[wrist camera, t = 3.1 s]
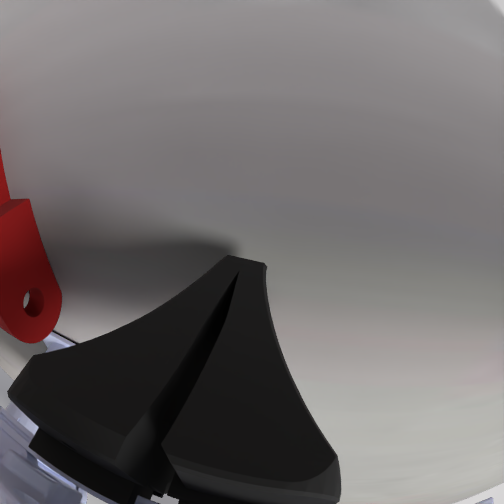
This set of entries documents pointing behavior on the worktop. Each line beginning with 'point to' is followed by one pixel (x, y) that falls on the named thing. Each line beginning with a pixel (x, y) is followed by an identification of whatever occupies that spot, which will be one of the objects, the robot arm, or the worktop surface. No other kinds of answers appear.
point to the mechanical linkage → (24, 272)
